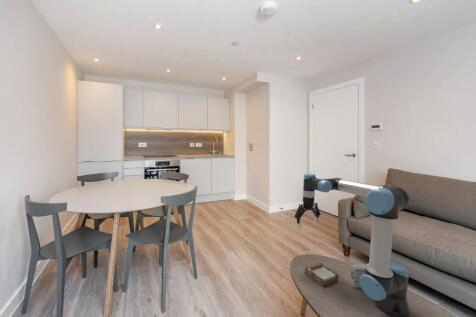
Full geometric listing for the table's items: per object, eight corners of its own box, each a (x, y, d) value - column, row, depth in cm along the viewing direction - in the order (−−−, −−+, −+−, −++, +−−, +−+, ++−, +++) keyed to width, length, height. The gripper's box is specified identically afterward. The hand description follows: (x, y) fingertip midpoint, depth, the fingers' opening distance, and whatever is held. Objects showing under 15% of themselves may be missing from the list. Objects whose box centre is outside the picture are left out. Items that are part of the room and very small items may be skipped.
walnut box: (338, 281, 137) (338, 274, 136) (322, 287, 131) (323, 280, 131) (319, 268, 150) (319, 262, 150) (304, 273, 144) (305, 267, 144)
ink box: (364, 283, 135) (365, 264, 134) (368, 288, 131) (369, 269, 130) (349, 282, 136) (351, 263, 135) (353, 287, 131) (354, 268, 130)
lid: (335, 277, 137) (336, 271, 137) (323, 281, 132) (323, 275, 132) (319, 266, 148) (320, 261, 148) (308, 270, 143) (308, 265, 143)
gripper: (319, 193, 158) (317, 222, 160) (289, 196, 149) (288, 226, 151) (327, 196, 151) (325, 226, 153) (296, 199, 142) (295, 231, 144)
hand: (307, 226), depth 152 cm, fingers open, 13 cm apart
